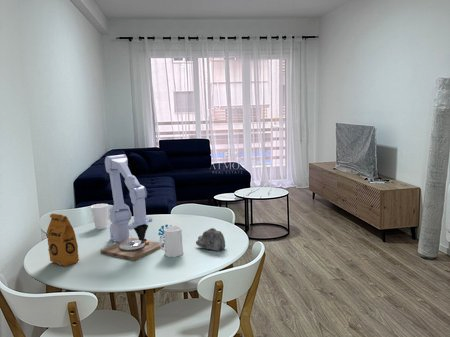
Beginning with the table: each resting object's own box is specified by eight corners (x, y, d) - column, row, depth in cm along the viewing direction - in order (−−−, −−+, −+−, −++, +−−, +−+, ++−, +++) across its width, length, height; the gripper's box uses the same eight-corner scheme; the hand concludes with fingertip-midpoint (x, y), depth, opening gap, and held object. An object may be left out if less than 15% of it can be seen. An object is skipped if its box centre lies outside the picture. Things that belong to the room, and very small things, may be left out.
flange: (122, 252, 180) (121, 240, 179) (117, 244, 191) (116, 233, 190) (152, 246, 186) (151, 235, 185) (145, 239, 197) (145, 228, 196)
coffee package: (62, 269, 168) (56, 219, 165) (47, 263, 176) (41, 215, 172) (82, 261, 176) (78, 213, 173) (67, 255, 184) (62, 210, 180)
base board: (100, 253, 185) (99, 245, 185) (130, 240, 202) (130, 233, 202) (134, 260, 174) (134, 253, 174) (164, 246, 191) (163, 239, 190)
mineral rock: (194, 246, 189) (193, 226, 188) (213, 241, 195) (212, 222, 193) (208, 254, 178) (207, 233, 177) (228, 249, 184) (227, 228, 183)
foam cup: (92, 226, 229) (89, 205, 227) (108, 224, 233) (106, 202, 231) (94, 231, 220) (91, 208, 218) (110, 228, 224) (109, 206, 222)
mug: (165, 260, 173) (163, 234, 171) (155, 255, 179) (153, 230, 178) (187, 253, 181) (185, 228, 179) (176, 249, 187) (175, 224, 185)
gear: (160, 241, 193) (157, 224, 199) (157, 247, 197) (154, 229, 203) (181, 240, 198) (178, 223, 204) (178, 246, 202) (175, 229, 208)
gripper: (134, 217, 176) (137, 246, 178) (156, 209, 189) (158, 236, 191) (123, 215, 180) (125, 243, 182) (145, 208, 192) (147, 234, 194)
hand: (141, 240), depth 187 cm, fingers closed
